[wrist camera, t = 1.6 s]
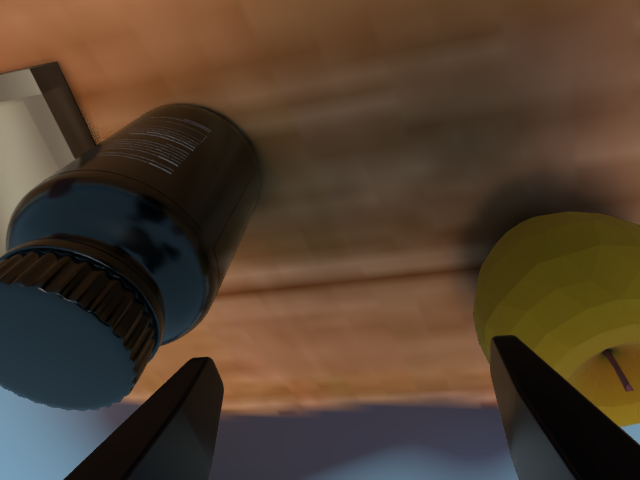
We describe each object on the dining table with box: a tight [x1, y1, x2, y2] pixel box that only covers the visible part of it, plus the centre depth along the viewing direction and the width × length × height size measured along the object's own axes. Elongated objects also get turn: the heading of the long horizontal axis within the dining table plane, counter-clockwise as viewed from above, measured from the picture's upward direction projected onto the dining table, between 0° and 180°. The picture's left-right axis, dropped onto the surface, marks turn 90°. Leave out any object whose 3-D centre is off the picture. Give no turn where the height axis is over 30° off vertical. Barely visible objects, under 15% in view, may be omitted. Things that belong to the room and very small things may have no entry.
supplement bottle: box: [0, 105, 260, 411], centre depth 16 cm, size 7×7×12 cm
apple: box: [473, 211, 640, 427], centre depth 18 cm, size 9×8×9 cm
